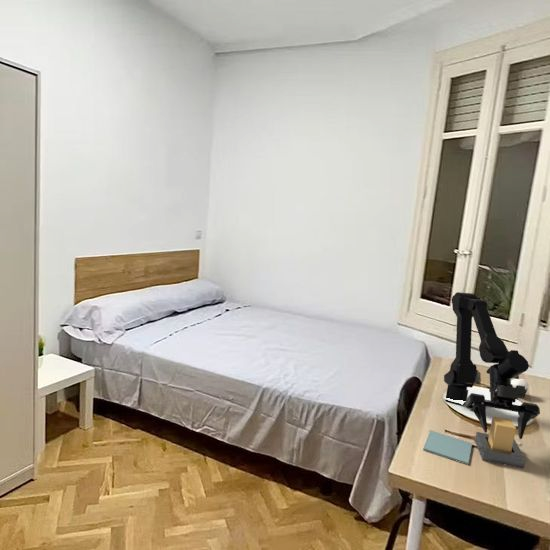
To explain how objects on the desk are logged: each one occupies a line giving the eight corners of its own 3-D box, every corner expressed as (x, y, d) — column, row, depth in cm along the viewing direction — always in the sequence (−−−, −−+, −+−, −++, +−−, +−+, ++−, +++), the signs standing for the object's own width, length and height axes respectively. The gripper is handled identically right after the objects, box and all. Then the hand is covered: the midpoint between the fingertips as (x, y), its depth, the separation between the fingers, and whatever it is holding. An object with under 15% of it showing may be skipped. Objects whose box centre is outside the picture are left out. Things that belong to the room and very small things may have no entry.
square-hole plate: (482, 460, 126) (484, 450, 125) (474, 440, 136) (476, 431, 135) (523, 468, 123) (525, 458, 123) (512, 447, 134) (514, 438, 133)
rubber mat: (423, 450, 128) (423, 448, 128) (430, 431, 138) (430, 430, 138) (468, 464, 123) (468, 463, 123) (471, 444, 133) (472, 443, 133)
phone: (458, 377, 182) (459, 365, 196) (457, 380, 183) (458, 368, 196) (479, 382, 179) (478, 369, 193) (478, 385, 180) (478, 372, 193)
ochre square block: (490, 456, 128) (496, 424, 126) (486, 447, 132) (492, 416, 131) (509, 460, 127) (516, 428, 125) (504, 451, 131) (511, 419, 130)
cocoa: (526, 402, 168) (534, 372, 165) (507, 397, 170) (515, 368, 167) (524, 391, 176) (531, 363, 173) (506, 387, 179) (513, 359, 176)
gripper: (474, 367, 131) (475, 420, 122) (544, 378, 127) (550, 433, 119) (465, 382, 140) (465, 432, 131) (530, 392, 136) (535, 445, 128)
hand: (503, 435), depth 127 cm, fingers open, 9 cm apart
